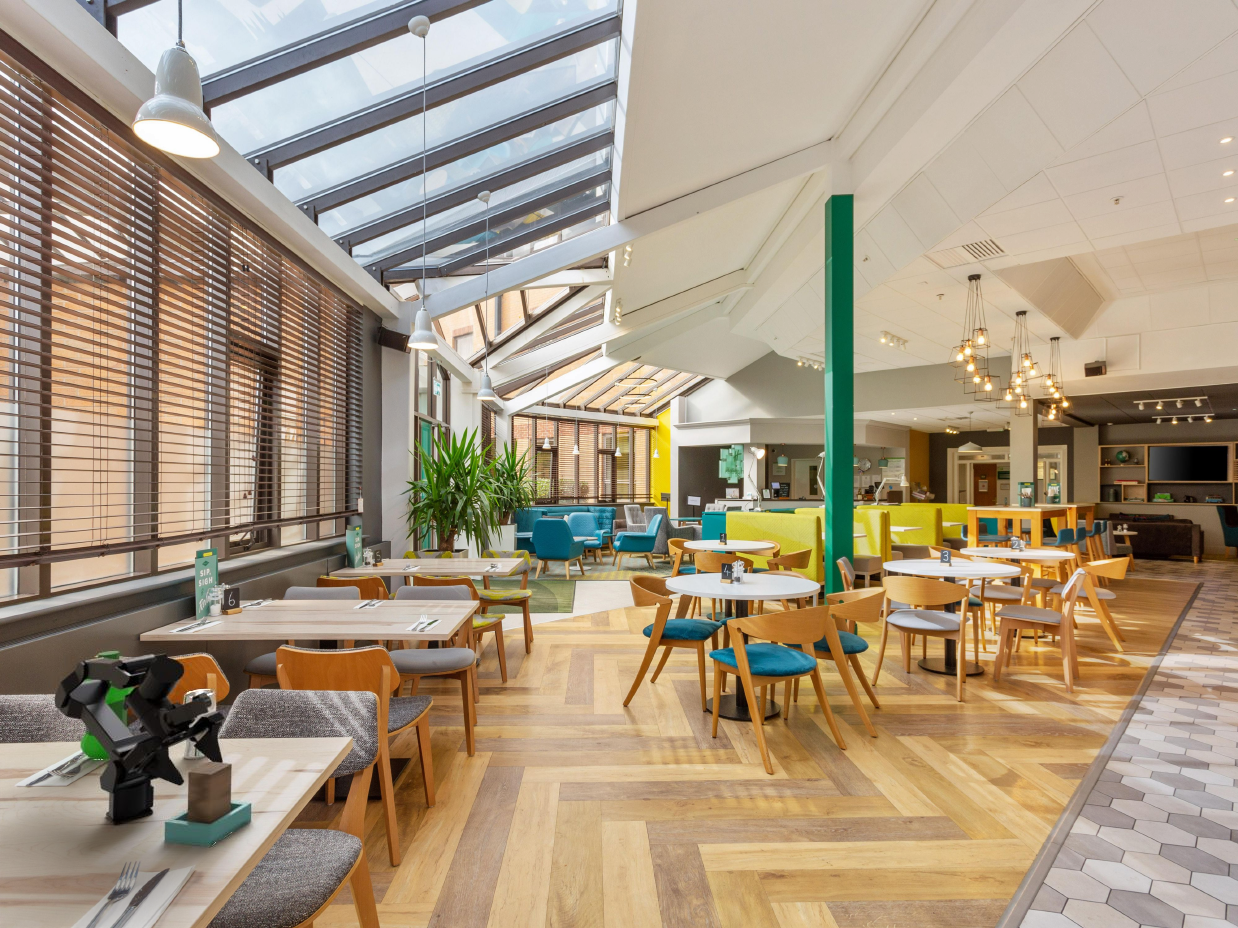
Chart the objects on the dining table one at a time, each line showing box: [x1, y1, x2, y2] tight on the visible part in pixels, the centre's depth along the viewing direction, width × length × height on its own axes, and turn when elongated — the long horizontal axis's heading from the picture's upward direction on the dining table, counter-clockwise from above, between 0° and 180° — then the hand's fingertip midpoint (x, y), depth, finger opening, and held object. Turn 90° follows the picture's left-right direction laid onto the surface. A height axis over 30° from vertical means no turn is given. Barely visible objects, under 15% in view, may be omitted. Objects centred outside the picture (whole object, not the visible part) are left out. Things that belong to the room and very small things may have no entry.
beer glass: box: [182, 688, 217, 760], centre depth 166 cm, size 7×7×15 cm
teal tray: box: [163, 799, 252, 847], centre depth 129 cm, size 10×10×4 cm
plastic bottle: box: [80, 650, 135, 760], centre depth 165 cm, size 10×10×25 cm
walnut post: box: [187, 761, 233, 824], centre depth 129 cm, size 5×5×11 cm
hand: (202, 773), depth 130 cm, fingers open, 9 cm apart
